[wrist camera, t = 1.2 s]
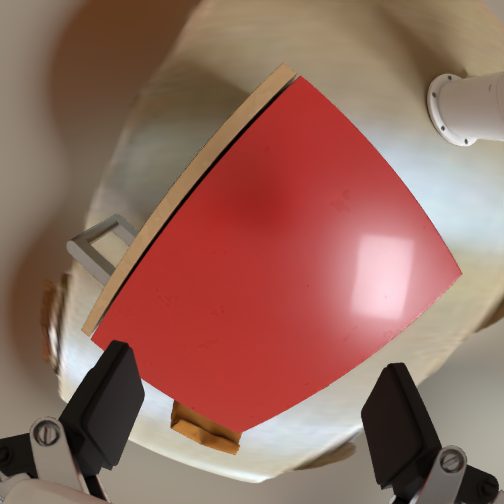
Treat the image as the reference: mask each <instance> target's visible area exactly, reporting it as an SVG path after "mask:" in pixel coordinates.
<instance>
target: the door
mask: <svg viewBox="0 0 504 504" xmlns="http://www.w3.org/2000/svg"><path fill="white" fill-rule="evenodd" d="M296 74H297V73H296V72H295V71H294V70H293V69H291V68H290V67H289V66H288V65H286V64H285V63H282V64H281V65H280V66H279V67H278V68H277V69H276V70H275V71H274V72H273V73H272V74H271V75H270V76H269V77H268V78H267V79H266V80H265V81H264V82H263V83H262V84H261V85H260V86H259V87H258V88H257V89H256V90H255V91H254V92H253V93H252V94H251V95H250V96H249V97H248V98H247V99H246V100H245V101H244V102H243V103H242V104H241V105H240V106H239V107H238V109H237V110H236V111H235V112H234V113H233V114H232V115H231V116H230V117H229V118H228V119H227V121H226V122H225V123H224V124H223V125H222V126H221V127H220V128H219V130H218V131H217V132H216V133H215V134H214V135H213V136H212V138H211V139H210V140H209V141H208V142H207V143H206V145H205V146H204V147H203V148H202V149H201V151H200V152H199V153H198V154H197V155H196V157H195V158H194V159H193V160H192V162H191V163H190V164H189V165H188V167H187V168H186V169H185V170H184V172H183V173H182V174H181V175H180V177H179V178H178V179H177V181H176V182H175V183H174V185H173V186H172V187H171V188H170V190H169V191H168V192H167V194H166V195H165V197H164V198H163V199H162V201H161V202H160V203H159V205H158V206H157V207H156V209H155V210H154V212H153V213H152V214H151V216H150V217H149V219H148V220H147V222H146V223H145V225H144V226H143V227H142V229H141V230H140V232H138V231H137V230H136V229H135V228H134V227H133V226H131V225H130V224H129V223H128V222H127V221H126V220H125V219H124V218H123V217H121V216H120V215H119V214H115V215H113V216H111V217H109V218H108V219H106V220H104V221H102V222H100V223H99V224H97V225H95V226H93V227H92V228H90V229H88V230H86V231H85V232H83V233H81V234H80V235H78V236H76V237H74V238H73V239H71V240H70V241H68V242H67V250H68V252H69V253H70V254H71V255H72V256H73V257H74V258H75V259H76V260H77V261H78V262H79V263H80V264H81V265H82V266H83V267H84V268H85V269H86V270H87V271H88V272H90V273H91V274H92V275H93V276H94V277H95V278H96V279H97V280H98V281H99V282H100V283H102V284H103V285H104V286H105V287H104V289H103V291H102V293H101V294H100V296H99V298H98V300H97V301H96V303H95V305H94V307H93V309H92V310H91V312H90V314H89V316H88V318H87V320H86V322H85V324H84V325H83V327H82V329H81V330H82V331H83V332H84V333H85V334H86V335H87V336H90V335H91V334H92V333H93V331H94V330H95V329H96V328H97V326H98V325H99V324H100V323H101V321H102V319H103V318H104V316H105V315H106V313H107V311H108V310H109V308H110V307H111V305H112V304H113V302H114V300H115V299H116V297H117V296H118V294H119V293H120V291H121V290H122V288H123V287H124V285H125V284H126V282H127V281H128V279H129V278H130V276H131V275H132V273H133V272H134V270H135V269H136V267H137V266H138V265H139V263H140V262H141V260H142V259H143V257H144V256H145V255H146V253H147V252H148V250H149V249H150V248H151V246H152V245H153V243H154V242H155V241H156V239H157V238H158V237H159V235H160V234H161V233H162V231H163V230H164V229H165V227H166V226H167V225H168V223H169V222H170V221H171V219H172V218H173V217H174V215H175V214H176V213H177V212H178V210H179V209H180V208H181V206H182V205H183V204H184V203H185V201H186V200H187V199H188V198H189V196H190V195H191V194H192V193H193V191H194V190H195V189H196V188H197V187H198V185H199V184H200V183H201V182H202V180H203V179H204V178H205V177H206V176H207V174H208V173H209V172H210V171H211V170H212V169H213V167H214V166H215V165H216V164H217V163H218V162H219V160H220V159H221V158H222V157H223V156H224V155H225V153H226V152H227V151H228V150H229V149H230V148H231V147H232V146H233V144H234V143H235V142H236V141H237V140H238V139H239V138H240V137H241V136H242V135H243V133H244V132H245V131H246V130H247V129H248V128H249V127H250V126H251V125H252V124H253V123H254V122H255V121H256V119H257V118H258V117H259V116H260V115H261V114H262V113H263V112H264V111H265V110H266V109H267V108H268V107H269V106H270V105H271V104H272V103H273V102H274V101H275V100H276V99H277V98H278V97H279V96H280V95H281V94H282V93H283V92H284V91H285V90H286V89H287V88H288V87H289V86H290V85H291V84H292V83H293V82H294V79H295V76H296ZM111 231H113V232H114V233H115V234H116V235H117V236H118V237H119V238H120V239H122V240H123V241H124V242H125V243H126V244H127V245H128V246H129V248H128V250H127V252H126V253H125V255H124V256H123V258H122V259H121V261H120V263H119V264H118V266H117V267H116V268H115V267H114V266H113V265H112V264H111V263H110V262H109V261H107V260H106V259H105V258H104V257H103V256H102V255H101V254H100V253H99V252H98V251H97V250H95V249H94V248H93V247H92V246H91V244H92V243H94V242H95V241H97V240H98V239H100V238H102V237H103V236H105V235H106V234H108V233H109V232H111Z"/></svg>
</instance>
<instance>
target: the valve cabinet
mask: <svg viewBox="0 0 504 504" xmlns="http://www.w3.org/2000/svg"><path fill="white" fill-rule="evenodd" d="M461 275H462V272H461V270H460V268H459V267H458V265H457V263H456V261H455V259H454V258H453V256H452V254H451V252H450V251H449V249H448V247H447V246H446V244H445V242H444V241H443V239H442V237H441V236H440V234H439V233H438V231H437V229H436V228H435V226H434V225H433V223H432V222H431V220H430V219H429V217H428V216H427V214H426V213H425V211H424V210H423V209H422V207H421V206H420V204H419V203H418V201H417V200H416V199H415V197H414V196H413V195H412V193H411V192H410V190H409V189H408V188H407V187H406V185H405V184H404V183H403V181H402V180H401V179H400V177H399V176H398V175H397V174H396V172H395V171H394V170H393V169H392V167H391V166H390V165H389V164H388V163H387V161H386V160H385V159H384V158H383V157H382V155H381V154H380V153H379V152H378V151H377V150H376V149H375V147H374V146H373V145H372V144H371V143H370V142H369V141H368V140H367V138H366V137H365V136H364V135H363V134H362V133H361V132H360V131H359V130H358V129H357V128H356V127H355V126H354V125H353V124H352V123H351V122H350V121H349V119H348V118H347V117H346V116H345V115H344V114H343V113H342V112H340V111H339V110H338V109H337V108H336V107H335V106H334V105H333V104H332V103H331V102H330V101H329V100H328V99H327V98H326V97H325V96H324V95H323V94H321V93H320V92H319V91H318V90H317V89H316V88H315V87H314V86H312V85H311V84H310V83H309V82H308V81H307V80H306V79H304V78H303V77H302V76H299V77H298V78H297V79H296V80H295V81H294V82H293V83H292V84H291V85H290V86H289V87H288V88H287V89H286V90H285V91H284V92H283V93H282V94H281V95H280V96H279V97H278V98H277V99H276V100H275V101H274V102H273V103H272V104H271V105H270V106H269V107H268V108H267V109H266V110H265V111H264V112H263V113H262V114H261V115H260V116H259V117H258V118H257V119H256V121H255V122H254V123H253V124H252V125H251V126H250V127H249V128H248V129H247V130H246V131H245V132H244V133H243V135H242V136H241V137H240V138H239V139H238V140H237V141H236V142H235V143H234V144H233V146H232V147H231V148H230V149H229V150H228V151H227V152H226V153H225V155H224V156H223V157H222V158H221V159H220V160H219V162H218V163H217V164H216V165H215V166H214V167H213V169H212V170H211V171H210V172H209V173H208V174H207V176H206V177H205V178H204V179H203V180H202V182H201V183H200V184H199V185H198V187H197V188H196V189H195V190H194V191H193V193H192V194H191V195H190V196H189V198H188V199H187V200H186V201H185V203H184V204H183V205H182V206H181V208H180V209H179V210H178V212H177V213H176V214H175V215H174V217H173V218H172V219H171V221H170V222H169V223H168V225H167V226H166V227H165V229H164V230H163V231H162V233H161V234H160V235H159V237H158V238H157V239H156V241H155V242H154V243H153V245H152V246H151V248H150V249H149V250H148V252H147V253H146V255H145V256H144V257H143V259H142V260H141V262H140V263H139V265H138V266H137V267H136V269H135V270H134V272H133V273H132V275H131V276H130V278H129V279H128V281H127V282H126V284H125V285H124V287H123V288H122V290H121V291H120V293H119V294H118V296H117V297H116V299H115V300H114V302H113V304H112V305H111V307H110V308H109V310H108V311H107V313H106V315H105V316H104V318H103V319H102V321H101V323H100V324H99V326H98V328H97V329H96V331H95V333H94V334H93V336H92V338H91V340H92V341H93V342H94V343H95V344H96V345H98V346H99V347H100V348H101V349H103V350H104V351H105V350H106V348H107V347H108V345H109V344H110V342H111V341H112V340H117V341H122V342H126V343H128V344H129V347H131V348H132V349H133V352H134V356H135V360H136V364H137V367H138V371H139V375H140V378H142V379H143V380H144V381H146V382H147V383H149V384H150V385H152V386H153V387H155V388H157V389H158V390H160V391H161V392H163V393H164V394H166V395H168V396H169V397H171V398H172V399H174V400H176V401H177V402H179V403H181V404H182V405H184V406H186V407H188V408H189V409H191V410H193V411H195V412H196V413H198V414H200V415H202V416H204V417H206V418H208V419H209V420H211V421H213V422H215V423H217V424H219V425H221V426H223V427H225V428H227V429H229V430H231V431H233V432H236V433H238V434H239V433H242V432H244V431H246V430H248V429H250V428H252V427H254V426H257V425H259V424H261V423H263V422H265V421H267V420H269V419H271V418H272V417H274V416H276V415H278V414H280V413H282V412H284V411H286V410H287V409H289V408H291V407H293V406H295V405H296V404H298V403H300V402H302V401H303V400H305V399H307V398H308V397H310V396H312V395H313V394H315V393H317V392H318V391H320V390H322V389H323V388H325V387H326V386H328V385H330V384H331V383H333V382H334V381H336V380H337V379H339V378H340V377H342V376H343V375H345V374H346V373H348V372H349V371H350V370H352V369H353V368H355V367H356V366H358V365H359V364H360V363H362V362H363V361H365V360H366V359H367V358H369V357H370V356H371V355H373V354H374V353H375V352H377V351H378V350H379V349H381V348H382V347H383V346H384V345H386V344H387V343H388V342H389V341H391V340H392V339H393V338H394V337H396V336H397V335H398V334H399V333H400V332H402V331H403V330H404V329H405V328H406V327H408V326H409V325H410V324H411V323H412V322H413V321H415V320H416V319H417V318H418V317H419V316H420V315H421V314H422V313H423V312H425V311H426V310H427V309H428V308H429V307H430V306H431V305H432V304H433V303H434V302H435V301H436V300H437V299H438V298H439V297H440V296H441V295H442V294H443V293H444V292H445V291H446V290H447V289H448V288H449V287H450V286H451V285H452V284H453V283H454V282H455V281H456V280H457V279H458V278H459V277H460V276H461Z"/></svg>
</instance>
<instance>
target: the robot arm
mask: <svg viewBox="0 0 504 504" xmlns="http://www.w3.org/2000/svg"><path fill="white" fill-rule="evenodd" d="M427 103H428V110H429V114H430V117H431V120H432V122H433V124H434V126H435V128H436V129H437V131H438V132H439V133H440V134H441V136H442V137H443V138H444V139H446V140H447V141H448V142H450V143H452V144H454V145H457V146H469V145H471V144H473V143H474V142H475V141H476V140H477V139H488V140H497V141H504V72H499V73H493V74H487V75H481V76H476V77H471V78H467V79H462V78H461V77H459V76H457V75H454V74H443V75H440V76H438V77H436V78H435V79H434V80H433V81H432V82H431V84H430V86H429V90H428V95H427ZM144 397H145V392H144V389H143V385H142V382H141V378H140V375H139V371H138V367H137V364H136V360H135V356H134V352H133V349H132V348H131V347H129V344H128V343H126V342H122V341H117V340H112V341H111V342H110V344H109V345H108V347H107V348H106V350H105V351H104V353H103V354H102V356H101V357H100V359H99V360H98V362H97V363H96V365H95V366H94V368H92V369H90V370H89V371H88V373H87V374H86V376H85V377H84V379H83V381H82V382H81V384H80V385H79V387H78V388H77V390H76V391H75V393H74V395H73V396H72V398H71V399H70V401H69V403H68V404H67V406H66V408H65V409H64V411H63V412H62V414H61V416H60V417H59V419H58V420H57V419H55V418H52V417H41V418H39V419H37V420H36V421H35V422H34V423H33V424H32V426H31V429H30V433H26V434H22V435H17V436H13V437H8V438H3V439H0V504H112V503H111V501H110V499H109V497H108V494H107V492H106V490H105V488H104V486H103V484H102V481H101V479H100V476H99V472H100V470H101V467H103V468H106V469H108V470H112V467H113V466H116V465H117V464H118V462H119V460H120V457H121V455H122V452H123V450H124V447H125V445H126V442H127V440H128V437H129V435H130V432H131V430H132V427H133V425H134V422H135V420H136V418H137V415H138V413H139V410H140V408H141V406H142V403H143V401H144ZM361 418H362V422H363V426H364V430H365V434H366V438H367V442H368V446H369V451H370V455H371V459H372V464H373V468H374V473H375V477H376V482H377V484H379V485H381V489H382V490H383V489H387V488H391V487H393V491H394V494H393V496H392V498H391V499H390V501H389V503H388V504H504V491H503V490H500V491H498V490H499V484H498V481H497V479H496V478H495V477H494V476H493V475H491V474H488V473H486V472H483V471H481V470H479V469H476V468H474V467H472V466H469V465H467V457H466V455H465V453H464V451H463V450H462V449H461V448H459V447H457V446H453V445H450V446H446V447H444V448H442V446H441V443H440V440H439V438H438V436H437V433H436V431H435V428H434V426H433V424H432V421H431V419H430V417H429V414H428V412H427V410H426V407H425V405H424V403H423V401H422V399H421V397H420V394H419V392H418V390H417V388H416V386H415V384H414V382H413V380H412V378H411V375H410V373H409V371H408V369H407V367H406V365H405V364H404V363H390V364H388V365H387V367H385V368H384V369H383V370H382V372H381V374H380V376H379V378H378V380H377V382H376V384H375V386H374V388H373V390H372V392H371V394H370V396H369V397H368V399H367V401H366V403H365V405H364V406H363V408H362V411H361Z"/></svg>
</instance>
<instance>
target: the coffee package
mask: <svg viewBox="0 0 504 504" xmlns="http://www.w3.org/2000/svg"><path fill="white" fill-rule="evenodd" d="M171 429H173V430H175V431H177V432H179V433H181V434H183V435H184V436H186V437H188V438H190V439H192V440H194V441H196V442H198V443H199V444H201V445H204V446H207V447H210V448H213V449H216V450H220V451H223V452H226V453H230V454H233V455H236V453H237V451H238V450H239V447H240V445H239V444H238V443H239V440H240V438H241V435H242V433H243V432H242V433H239V434H238V433H236V432H233V431H231V430H229V429H227V428H225V427H223V426H221V425H219V424H217V423H215V422H213V421H211V420H209V419H208V418H206V417H204V416H202V415H200V414H198V413H196V412H195V411H193V410H191V409H189V408H188V407H186V406H184V405H182V404H181V403H179V402H177V401H176V400H174V403H173V409H172V413H171Z"/></svg>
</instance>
